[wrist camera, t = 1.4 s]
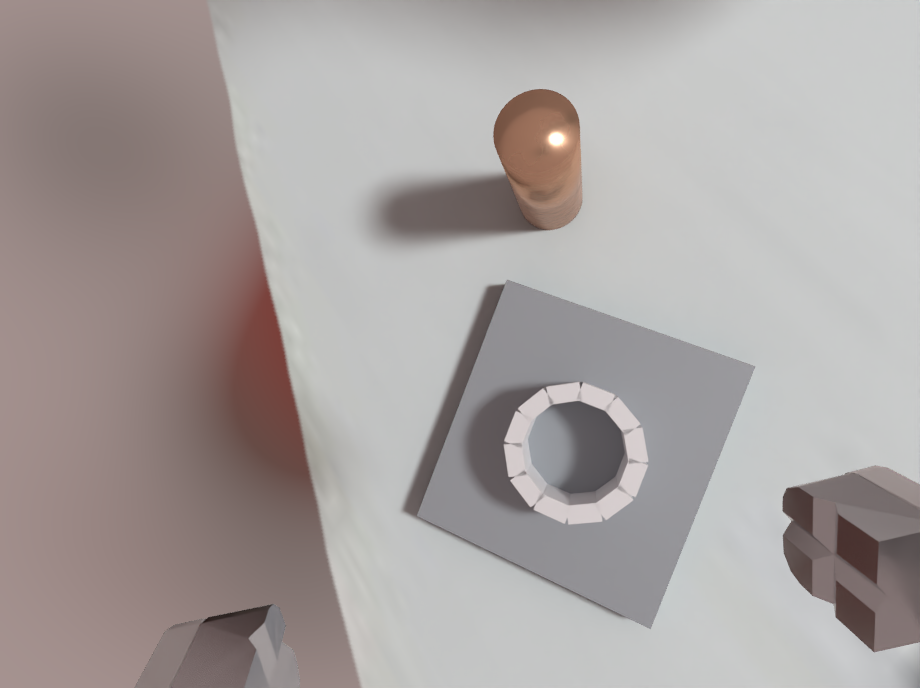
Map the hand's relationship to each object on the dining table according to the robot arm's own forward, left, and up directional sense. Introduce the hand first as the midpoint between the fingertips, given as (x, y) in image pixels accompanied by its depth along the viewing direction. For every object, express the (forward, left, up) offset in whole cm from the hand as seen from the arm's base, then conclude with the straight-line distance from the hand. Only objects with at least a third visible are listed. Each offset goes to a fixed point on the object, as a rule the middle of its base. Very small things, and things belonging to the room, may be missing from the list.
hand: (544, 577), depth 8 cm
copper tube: (-13, -7, -26) cm, 30 cm away
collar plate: (+1, 0, -26) cm, 26 cm away
